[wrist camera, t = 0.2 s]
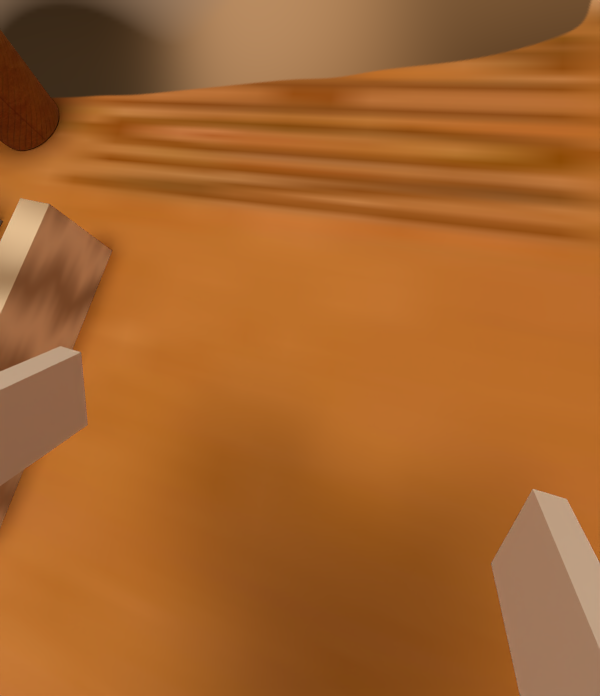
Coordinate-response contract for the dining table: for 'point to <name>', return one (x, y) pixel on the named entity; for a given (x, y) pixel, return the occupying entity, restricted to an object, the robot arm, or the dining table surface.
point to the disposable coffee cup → (23, 103)
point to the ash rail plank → (43, 289)
